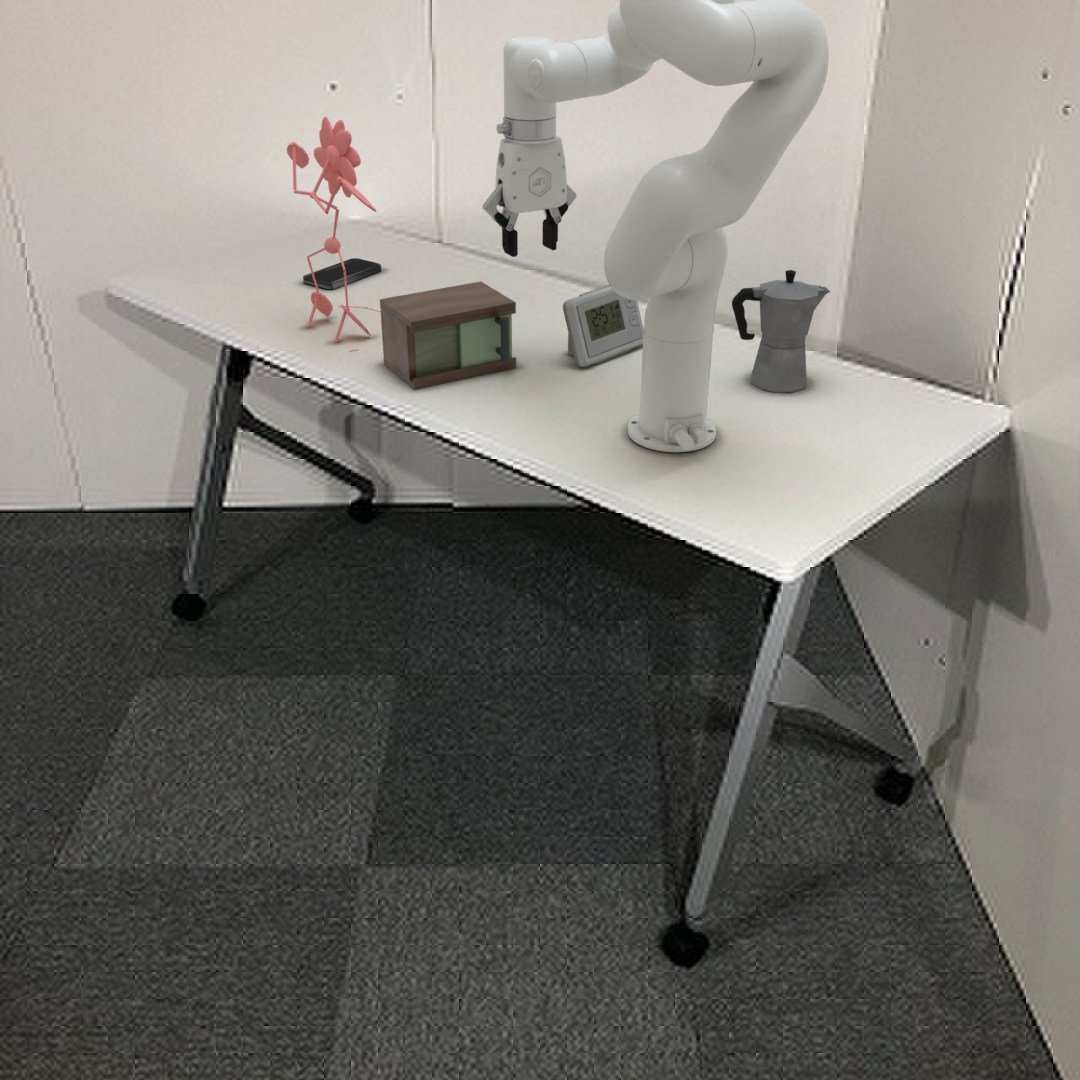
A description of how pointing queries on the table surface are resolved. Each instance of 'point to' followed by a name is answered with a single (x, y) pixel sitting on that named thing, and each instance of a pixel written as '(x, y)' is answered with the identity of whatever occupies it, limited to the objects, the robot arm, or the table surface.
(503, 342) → the sliding door
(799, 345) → the coffeepot
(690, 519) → the table surface
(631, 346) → the digital clock
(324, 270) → the phone
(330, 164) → the figurine
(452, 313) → the cabinet
